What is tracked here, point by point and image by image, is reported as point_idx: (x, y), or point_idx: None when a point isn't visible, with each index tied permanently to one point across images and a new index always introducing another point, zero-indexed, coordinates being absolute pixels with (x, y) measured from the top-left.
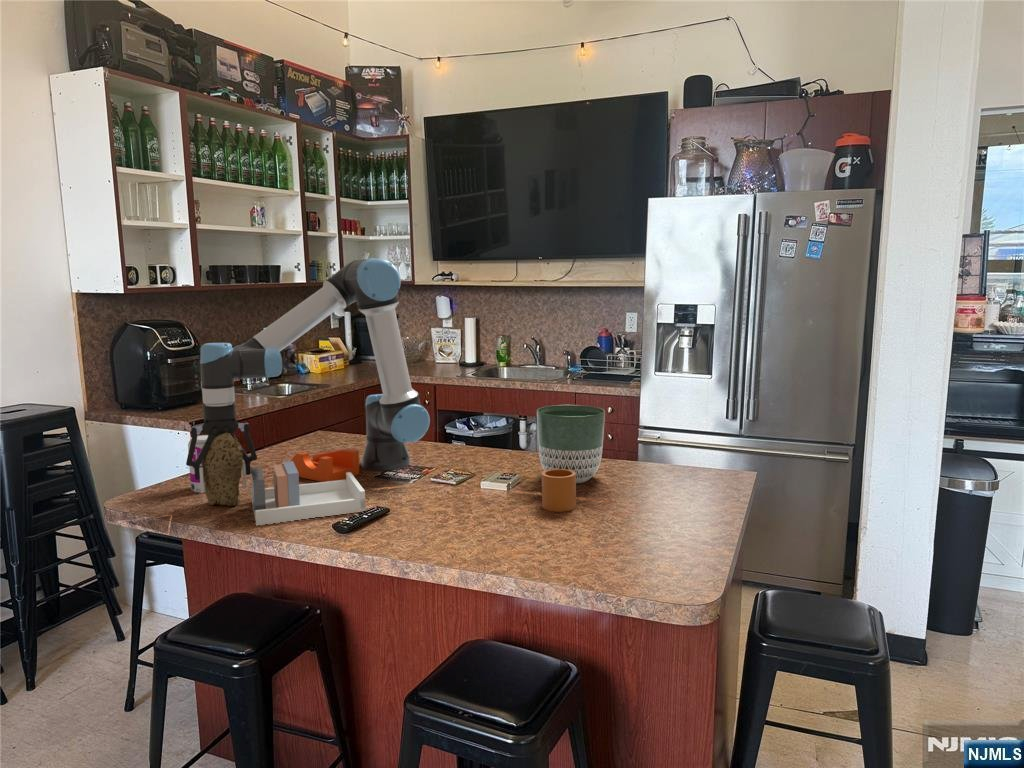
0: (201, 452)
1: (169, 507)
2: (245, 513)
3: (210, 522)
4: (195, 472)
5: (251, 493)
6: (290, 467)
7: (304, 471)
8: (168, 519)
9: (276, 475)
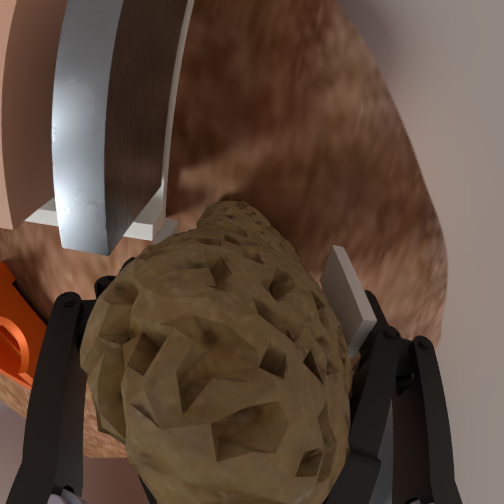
0: (388, 395)
1: (380, 292)
2: (204, 103)
3: (335, 72)
4: (380, 314)
5: (156, 230)
6: None
7: (40, 338)
8: (421, 190)
9: (17, 10)
